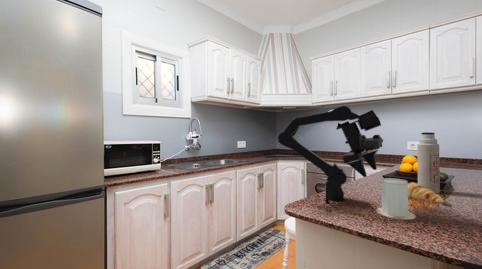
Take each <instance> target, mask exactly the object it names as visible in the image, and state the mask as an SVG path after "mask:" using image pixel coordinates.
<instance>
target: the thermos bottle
mask: <svg viewBox="0 0 482 269" xmlns="http://www.w3.org/2000/svg"><path fill="white" fill-rule="evenodd" d="M416 147H417V148H416V149H417V184H420V185H422V186H424V187H425V188H428V189H432V190H433V191H434V192H435V193H436V194H440V190H441V188H440V187H441V186H440V184H441V183H440V182H441V181H440V180H441V179H440V176H441V174H440V173H441V172H440V144H438V139H436V137H435V132H426V131H425V132H421V138H420V139H418V143H417V146H416Z"/></svg>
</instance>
